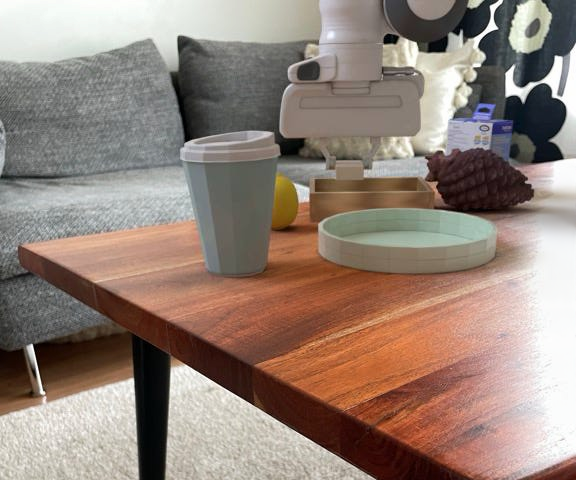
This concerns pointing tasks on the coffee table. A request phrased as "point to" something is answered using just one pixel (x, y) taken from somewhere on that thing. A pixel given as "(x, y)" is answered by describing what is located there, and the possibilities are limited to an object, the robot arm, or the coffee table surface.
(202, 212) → the disposable coffee cup
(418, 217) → the round tray
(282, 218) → the lemon
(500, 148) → the ink cartridge box
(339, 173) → the block
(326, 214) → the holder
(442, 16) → the robot arm
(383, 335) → the coffee table surface
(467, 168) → the pine cone
